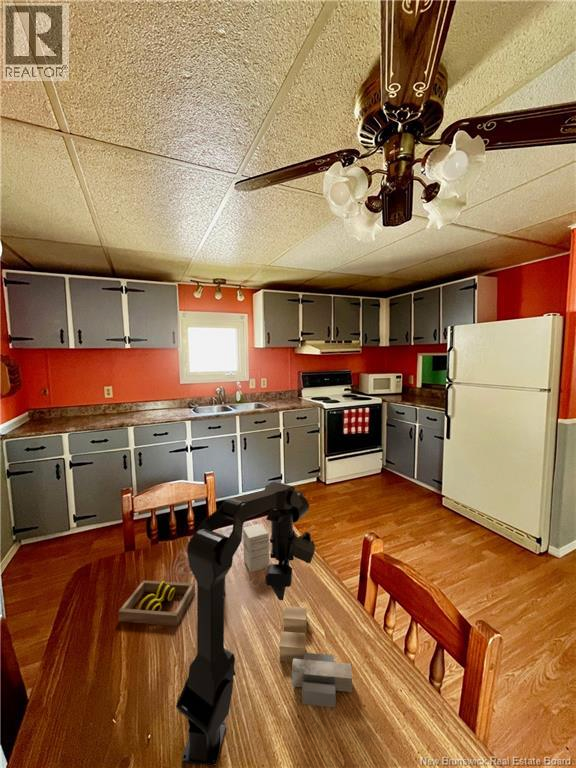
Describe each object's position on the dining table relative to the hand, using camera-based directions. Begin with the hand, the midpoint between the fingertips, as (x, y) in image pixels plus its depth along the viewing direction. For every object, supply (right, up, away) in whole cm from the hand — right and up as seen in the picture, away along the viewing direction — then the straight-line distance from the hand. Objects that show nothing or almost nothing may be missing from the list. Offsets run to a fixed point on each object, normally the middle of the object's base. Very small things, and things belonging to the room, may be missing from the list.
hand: (283, 586), depth 82 cm
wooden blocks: (+3, -12, -2) cm, 13 cm away
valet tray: (-37, -12, +9) cm, 40 cm away
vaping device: (-21, -12, +13) cm, 27 cm away
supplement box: (-10, -10, +27) cm, 31 cm away
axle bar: (+9, -12, -14) cm, 20 cm away
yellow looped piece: (-37, -12, +9) cm, 40 cm away
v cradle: (+8, -13, -13) cm, 20 cm away
